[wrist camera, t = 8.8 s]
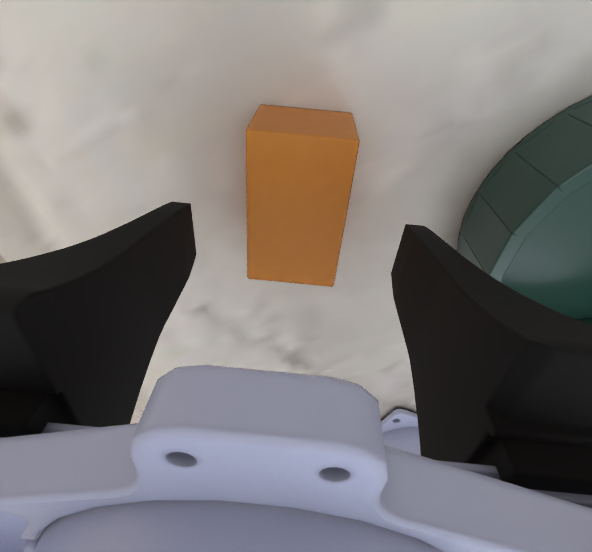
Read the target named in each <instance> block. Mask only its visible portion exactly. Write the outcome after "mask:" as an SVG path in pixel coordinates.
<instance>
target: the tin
mask: <svg viewBox="0 0 592 552" xmlns="http://www.w3.org/2000/svg"><path fill="white" fill-rule="evenodd" d="M458 253H460V254H461V255H462V256H464V257H465V258H466V259H467V260H469V261H470V262H471V263H473V264H474V265H476V266H477V267H478V268H480V269H481V270H483V271H484V272H486V273H487V274H488V275H490V276H491V277H493V278H495V279H496V280H498V281H499V282H501V283H503V284H504V285H506V286H508V287H510V288H511V289H513V290H515V291H516V292H518V293H520V294H522V295H524V296H526V297H528V298H530V299H532V300H534V301H536V302H538V303H540V304H542V305H544V306H546V307H548V308H550V309H552V310H555V311H557V312H559V313H561V314H564V315H566V316H568V317H571V318H573V319H576V320H578V321H581V322H583V323H586V324H588V325H591V326H592V96H590V97H588V98H586V99H584V100H582V101H580V102H578V103H576V104H574V105H572V106H570V107H569V108H567V109H565V110H564V111H562V112H561V113H559V114H557V115H556V116H554V117H552V118H551V119H549V120H548V121H546V122H545V123H543V124H542V125H541V126H539V127H538V128H537V129H535V130H534V131H533V132H531V133H530V134H529V135H527V136H526V137H525V138H524V139H523V140H522V141H521V142H519V143H518V144H517V145H516V146H515V147H514V148H513V149H512V150H511V151H509V152H508V153H507V154H506V156H505V157H504V158H503V159H502V160H501V161H500V162H499V163H498V164H497V165H496V166H495V168H494V169H493V170H492V171H491V172H490V174H489V175H488V177H487V178H486V179H485V181H484V182H483V183H482V185H481V186H480V187H479V189H478V191H477V193H476V194H475V196H474V198H473V199H472V201H471V203H470V205H469V207H468V210H467V212H466V214H465V217H464V219H463V223H462V226H461V230H460V233H459V241H458Z"/></svg>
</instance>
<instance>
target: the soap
mask: <svg viewBox="0 0 592 552" xmlns="http://www.w3.org/2000/svg"><path fill="white" fill-rule="evenodd" d="M358 147H359V138H358V134H357V130H356V126H355V122H354V118H353V115H352V113H347V112H336V111H325V110H315V109H304V108H293V107H283V106H272V105H260V107H259V109H258V110H257V112H256V114H255V115H254V117H253V119H252V121H251V122H250V124H249V126H248V128H247V129H246V194H247V277H248V278H249V279H257V280H268V281H279V282H289V283H300V284H311V285H321V286H333V285H334V281H335V276H336V270H337V265H338V259H339V253H340V248H341V242H342V237H343V231H344V225H345V220H346V214H347V209H348V203H349V198H350V192H351V186H352V181H353V175H354V170H355V164H356V158H357V153H358Z"/></svg>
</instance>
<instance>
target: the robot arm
mask: <svg viewBox="0 0 592 552" xmlns="http://www.w3.org/2000/svg"><path fill="white" fill-rule="evenodd" d="M195 257H196V247H195V238H194V229H193V221H192V212H191V204H190V203H180V202H170V203H168V204H165V205H163V206H161V207H159V208H157V209H155V210H153V211H151V212H149V213H147V214H145V215H143V216H141V217H139V218H137V219H135V220H133V221H131V222H129V223H127V224H125V225H122V226H120V227H118V228H116V229H114V230H111V231H109V232H107V233H105V234H102V235H100V236H98V237H95V238H93V239H90V240H87V241H84V242H82V243H79V244H76V245H73V246H70V247H67V248H64V249H60V250H56V251H53V252H49V253H45V254H42V255H38V256H34V257H30V258H26V259H21V260H17V261H12V262H7V263H2V264H0V552H592V326H591V325H588V324H586V323H583V322H581V321H578V320H576V319H573V318H571V317H568V316H566V315H564V314H561V313H559V312H557V311H555V310H552V309H550V308H548V307H546V306H544V305H542V304H540V303H538V302H536V301H534V300H532V299H530V298H528V297H526V296H524V295H522V294H520V293H518V292H516V291H515V290H513V289H511V288H510V287H508V286H506V285H504V284H503V283H501V282H499V281H498V280H496V279H495V278H493V277H491V276H490V275H488V274H487V273H486V272H484V271H483V270H481V269H480V268H478V267H477V266H476V265H474V264H473V263H471V262H470V261H469V260H467V259H466V258H465V257H464V256H462V255H461V254H460V253H458V252H457V251H456V250H455V249H453V248H452V247H451V246H450V245H448V244H447V243H446V242H445V241H444V240H442V239H441V238H440V237H439V236H437V235H436V234H435V233H434V232H432V231H431V230H430V229H428V228H427V227H425V226H420V225H409V224H406V225H405V228H404V232H403V235H402V238H401V242H400V245H399V249H398V252H397V255H396V259H395V262H394V265H393V269H392V272H391V277H392V288H393V296H394V301H395V305H396V308H397V312H398V316H399V320H400V324H401V327H402V331H403V335H404V338H405V342H406V346H407V349H408V354H409V358H410V364H411V371H412V378H413V385H414V392H415V401H416V409H417V414H416V413H413V412H410V411H407V410H404V409H396V410H394V411H393V412H392V413H391V414H390V415H388V416H387V417H386V418H385V419H384V420H383V421H381V419H380V412H379V404H378V400H377V399H376V398H374V397H373V396H372V395H371V394H370V393H369V392H368V391H366V390H365V389H364V388H363V387H362V386H360V385H358V384H355V383H352V382H348V381H345V380H341V379H337V378H334V377H326V376H315V375H305V374H295V373H285V372H274V371H264V370H254V369H243V368H233V367H223V366H213V365H198V366H185V367H178V368H175V369H173V370H172V371H170V372H169V373H167V374H165V375H164V376H162V377H161V378H159V379H158V380H157V382H156V385H155V387H154V389H153V392H152V394H151V396H150V398H149V401H148V403H147V405H146V408H145V410H144V412H143V414H142V417H141V419H140V421H139V423H135V424H130V422H131V418H132V415H133V412H134V408H135V405H136V402H137V399H138V396H139V392H140V389H141V386H142V383H143V380H144V377H145V374H146V371H147V369H148V366H149V363H150V360H151V357H152V355H153V352H154V349H155V346H156V344H157V341H158V338H159V336H160V334H161V332H162V329H163V327H164V325H165V323H166V321H167V319H168V317H169V316H170V314H171V312H172V310H173V308H174V306H175V304H176V302H177V300H178V298H179V296H180V294H181V292H182V290H183V288H184V286H185V284H186V282H187V280H188V278H189V276H190V273H191V270H192V267H193V264H194V260H195Z"/></svg>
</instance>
